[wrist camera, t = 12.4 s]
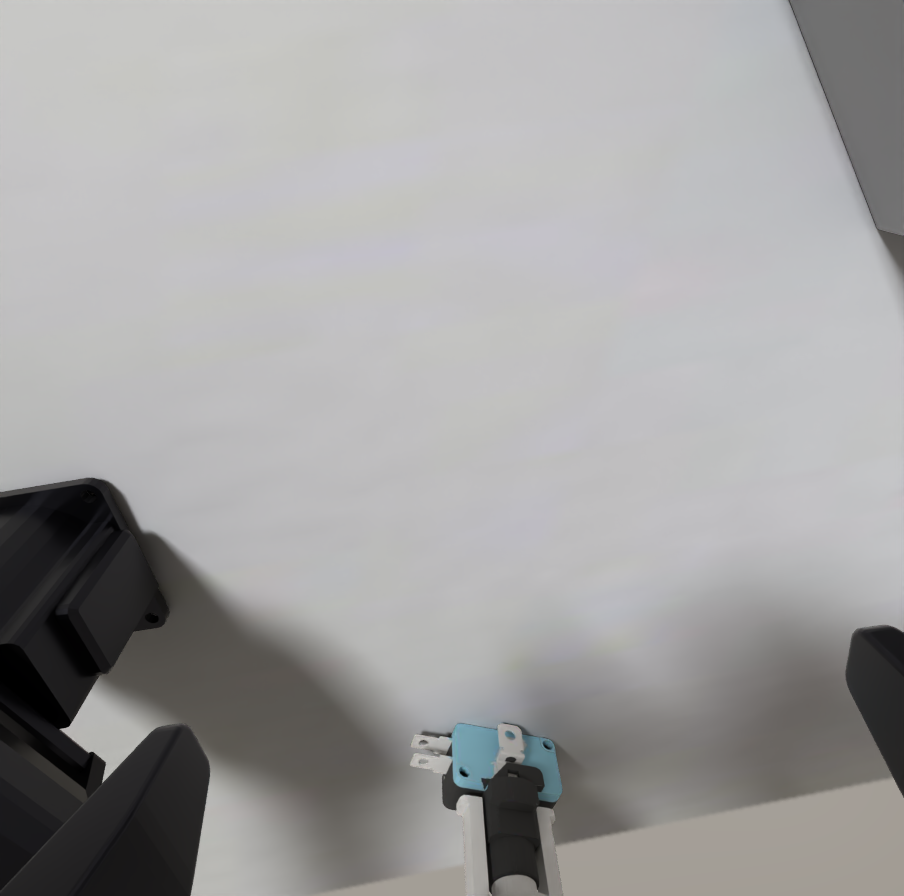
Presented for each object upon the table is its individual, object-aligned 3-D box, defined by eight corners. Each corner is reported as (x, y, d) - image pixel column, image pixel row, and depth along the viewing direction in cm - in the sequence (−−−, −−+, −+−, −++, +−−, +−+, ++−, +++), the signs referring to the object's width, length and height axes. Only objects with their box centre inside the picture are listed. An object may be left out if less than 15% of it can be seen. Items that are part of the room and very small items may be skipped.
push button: (398, 765, 29) (383, 1048, 20) (430, 686, 27) (429, 968, 18) (532, 788, 30) (574, 1066, 22) (575, 714, 28) (641, 993, 19)
